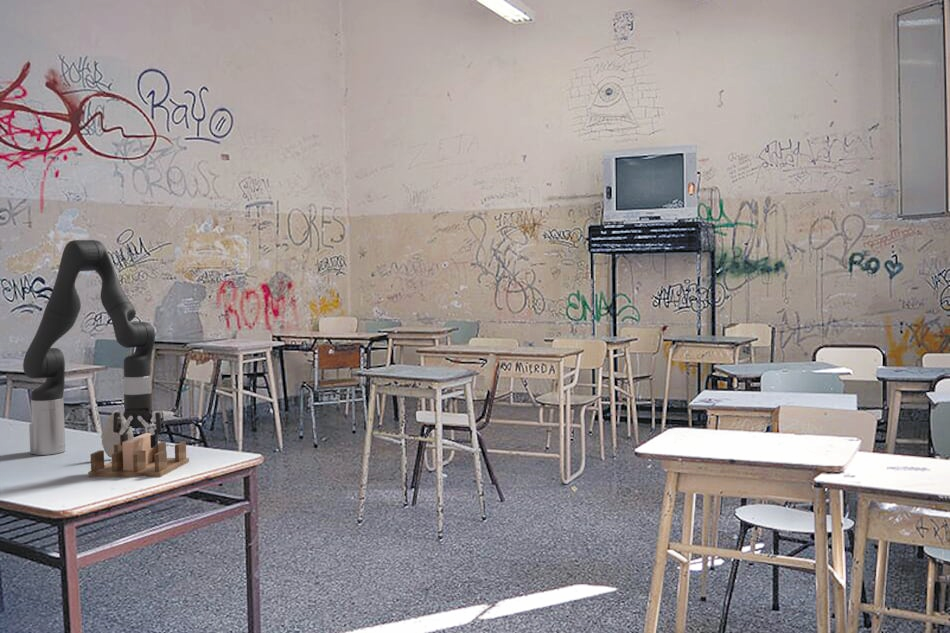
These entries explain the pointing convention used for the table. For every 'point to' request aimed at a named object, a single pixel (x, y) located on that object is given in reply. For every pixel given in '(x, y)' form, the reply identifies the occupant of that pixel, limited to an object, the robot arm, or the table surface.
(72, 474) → the table surface
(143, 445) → the peach rectangular block
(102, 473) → the drying rack
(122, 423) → the stone tool
